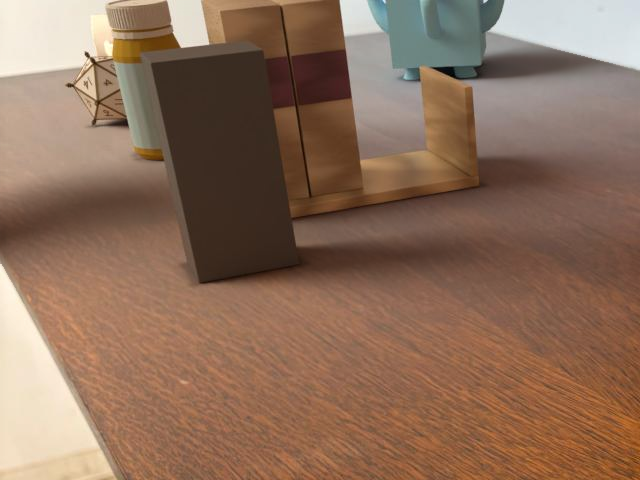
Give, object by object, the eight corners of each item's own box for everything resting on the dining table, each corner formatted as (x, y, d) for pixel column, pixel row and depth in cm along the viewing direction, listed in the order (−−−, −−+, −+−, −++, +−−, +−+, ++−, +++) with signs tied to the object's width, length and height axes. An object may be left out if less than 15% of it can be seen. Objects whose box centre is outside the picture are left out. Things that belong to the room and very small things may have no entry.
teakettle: (434, 91, 141) (423, -37, 133) (348, 74, 152) (333, -44, 144) (537, 67, 152) (533, -52, 144) (449, 53, 163) (441, -58, 155)
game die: (126, 157, 133) (89, 100, 124) (78, 125, 135) (38, 66, 126) (175, 108, 135) (143, 47, 126) (127, 77, 137) (92, 15, 128)
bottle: (177, 162, 115) (144, 7, 107) (123, 159, 118) (85, 6, 109) (214, 146, 121) (184, -3, 113) (161, 143, 123) (128, -4, 115)
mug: (107, 68, 163) (93, 10, 159) (172, 63, 165) (159, 5, 161) (101, 84, 154) (86, 22, 149) (169, 78, 155) (156, 17, 151)
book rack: (251, 225, 96) (212, 15, 87) (223, 192, 105) (184, -2, 96) (479, 186, 104) (466, -12, 94) (434, 158, 113) (418, -25, 103)
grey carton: (187, 264, 88) (139, 52, 79) (283, 247, 91) (247, 40, 82) (199, 283, 84) (150, 62, 76) (299, 264, 87) (263, 49, 78)
